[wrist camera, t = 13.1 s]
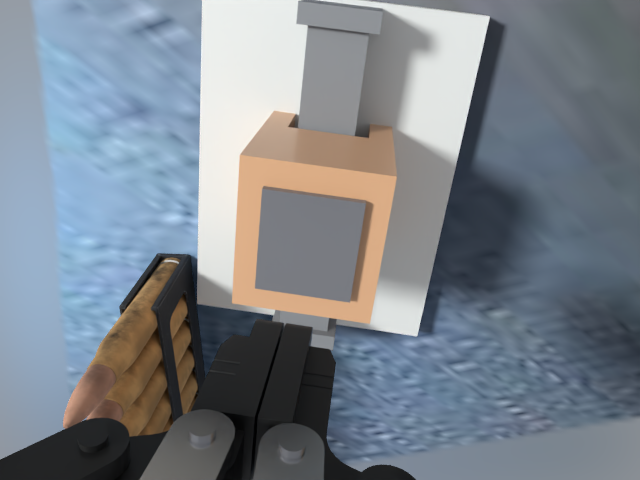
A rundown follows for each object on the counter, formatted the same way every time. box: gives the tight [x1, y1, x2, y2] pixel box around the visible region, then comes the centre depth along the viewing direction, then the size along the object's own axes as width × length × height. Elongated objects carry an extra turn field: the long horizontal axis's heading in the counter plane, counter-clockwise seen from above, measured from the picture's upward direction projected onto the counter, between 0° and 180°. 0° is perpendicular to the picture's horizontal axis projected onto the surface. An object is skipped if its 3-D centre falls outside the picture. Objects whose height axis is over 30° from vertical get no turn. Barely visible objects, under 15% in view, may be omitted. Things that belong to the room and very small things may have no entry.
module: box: [232, 111, 397, 324], centre depth 23 cm, size 5×6×7 cm
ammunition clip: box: [63, 254, 205, 437], centre depth 27 cm, size 11×2×12 cm, turn 1°
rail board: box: [197, 0, 490, 351], centre depth 26 cm, size 12×16×4 cm
